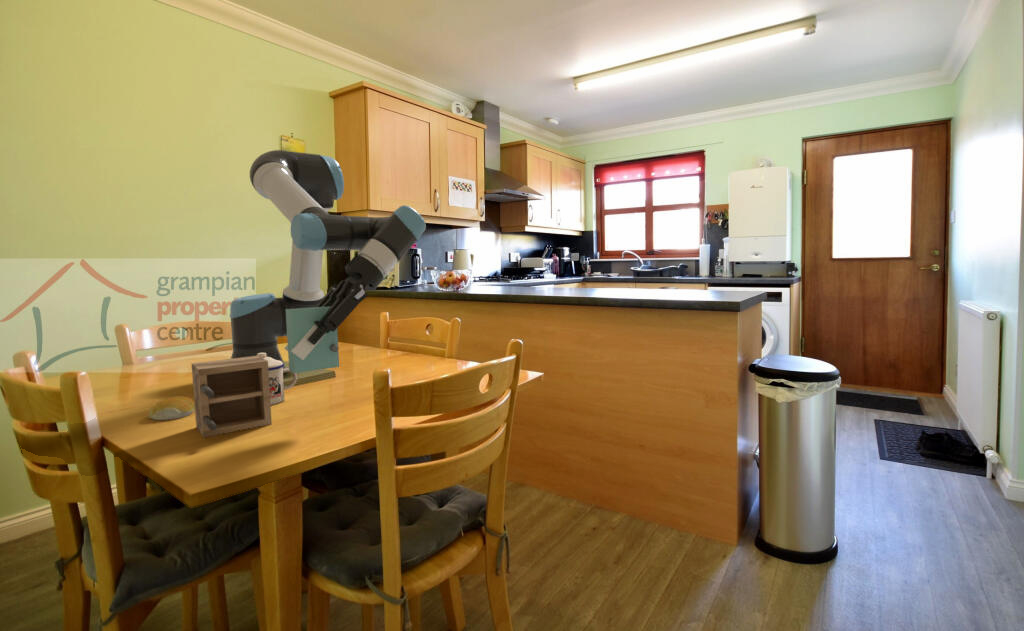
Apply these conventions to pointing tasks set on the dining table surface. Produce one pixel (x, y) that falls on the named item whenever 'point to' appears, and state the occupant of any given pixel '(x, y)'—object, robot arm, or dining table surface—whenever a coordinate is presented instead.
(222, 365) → the cabinet
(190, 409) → the bread roll
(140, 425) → the dining table surface
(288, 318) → the door
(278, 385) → the teacup with lid
